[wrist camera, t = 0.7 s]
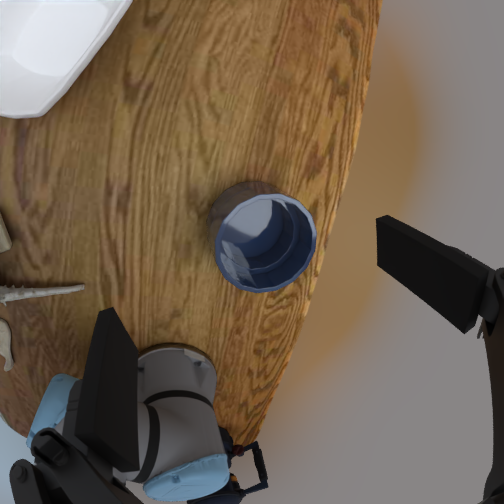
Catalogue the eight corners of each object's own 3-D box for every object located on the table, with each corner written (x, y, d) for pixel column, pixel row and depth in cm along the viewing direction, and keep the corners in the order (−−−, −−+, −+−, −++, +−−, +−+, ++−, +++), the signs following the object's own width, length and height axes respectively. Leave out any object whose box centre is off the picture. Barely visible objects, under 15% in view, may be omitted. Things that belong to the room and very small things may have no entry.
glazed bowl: (288, 259, 45) (311, 285, 38) (208, 268, 42) (217, 298, 35) (292, 179, 40) (320, 192, 33) (204, 183, 37) (213, 197, 30)
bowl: (177, -7, 25) (183, -51, 15) (81, 138, 30) (45, 144, 20) (55, -44, 16) (31, -80, 6) (-29, 87, 21) (-78, 85, 10)
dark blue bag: (182, 459, 60) (255, 434, 64) (203, 529, 42) (289, 501, 46) (155, 435, 53) (240, 406, 57) (174, 517, 35) (278, 486, 39)
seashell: (90, 302, 41) (-33, 313, 31) (82, 250, 39) (-46, 265, 28) (88, 340, 33) (-54, 347, 22) (74, 278, 30) (-74, 292, 19)
